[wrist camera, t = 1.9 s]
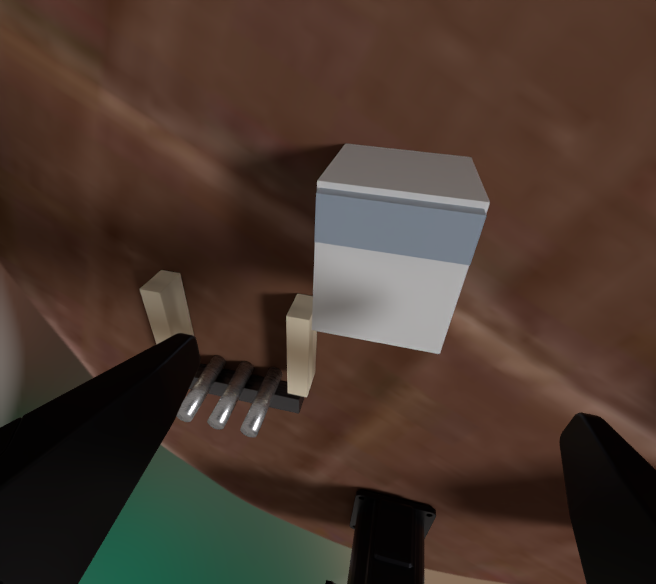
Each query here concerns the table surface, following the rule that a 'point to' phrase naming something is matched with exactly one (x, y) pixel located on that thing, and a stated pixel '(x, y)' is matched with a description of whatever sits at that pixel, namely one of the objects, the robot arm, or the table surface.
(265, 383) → the silver rod block
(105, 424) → the robot arm
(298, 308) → the guide rails
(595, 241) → the table surface
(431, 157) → the plug block
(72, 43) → the table surface
